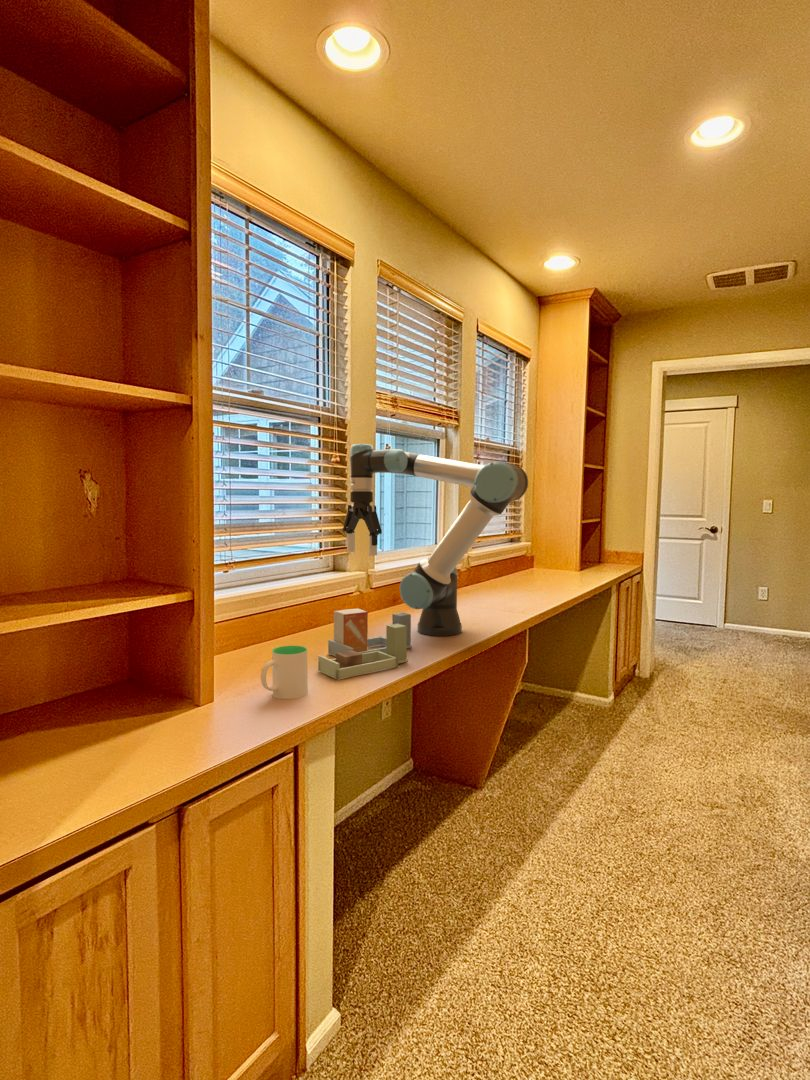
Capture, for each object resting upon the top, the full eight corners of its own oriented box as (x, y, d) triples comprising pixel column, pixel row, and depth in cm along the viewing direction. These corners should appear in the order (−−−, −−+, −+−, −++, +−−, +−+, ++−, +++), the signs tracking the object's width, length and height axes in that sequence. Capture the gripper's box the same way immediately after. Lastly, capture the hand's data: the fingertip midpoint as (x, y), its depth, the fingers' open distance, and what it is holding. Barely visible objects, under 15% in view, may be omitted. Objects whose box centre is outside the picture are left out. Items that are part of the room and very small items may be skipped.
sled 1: (394, 641, 189) (394, 610, 188) (419, 649, 179) (419, 616, 178) (328, 653, 175) (328, 619, 174) (351, 663, 164) (351, 627, 164)
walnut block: (352, 668, 161) (352, 650, 161) (362, 672, 157) (362, 654, 157) (335, 671, 158) (335, 653, 158) (345, 676, 154) (345, 657, 154)
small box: (343, 659, 169) (343, 614, 168) (333, 654, 174) (333, 610, 174) (368, 655, 174) (368, 611, 173) (357, 650, 179) (357, 607, 178)
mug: (276, 706, 131) (275, 660, 131) (252, 699, 136) (251, 654, 135) (314, 692, 141) (314, 648, 140) (290, 685, 146) (290, 643, 145)
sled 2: (392, 656, 172) (392, 621, 171) (412, 663, 164) (413, 627, 163) (318, 670, 157) (318, 633, 157) (336, 679, 150) (336, 640, 149)
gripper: (333, 490, 208) (333, 551, 209) (373, 490, 188) (373, 557, 190) (351, 491, 212) (351, 550, 214) (392, 490, 192) (392, 556, 194)
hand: (361, 553), depth 202 cm, fingers open, 13 cm apart
